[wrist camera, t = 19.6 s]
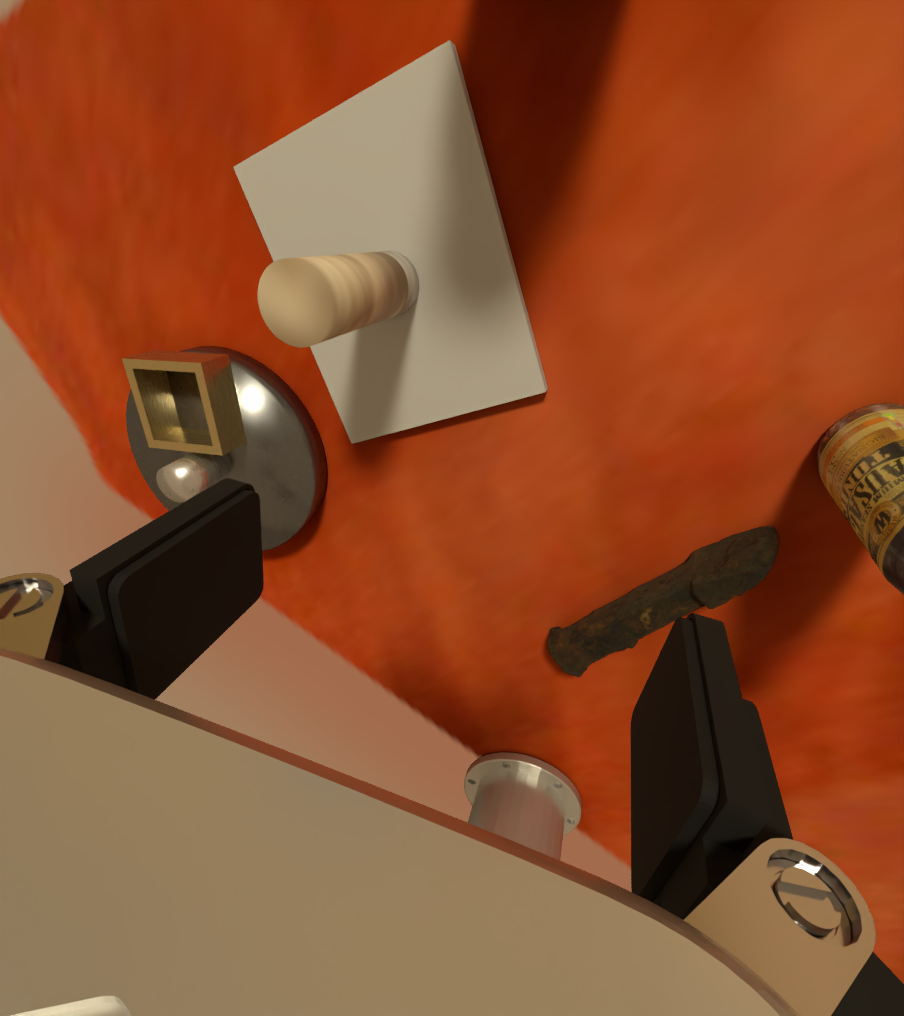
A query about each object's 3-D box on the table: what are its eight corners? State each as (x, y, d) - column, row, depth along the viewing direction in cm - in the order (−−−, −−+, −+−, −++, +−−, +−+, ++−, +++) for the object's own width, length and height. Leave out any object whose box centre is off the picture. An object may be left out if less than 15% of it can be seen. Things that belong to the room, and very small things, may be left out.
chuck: (338, 550, 48) (294, 598, 42) (178, 524, 53) (117, 565, 47) (310, 350, 40) (250, 373, 34) (123, 341, 45) (39, 360, 38)
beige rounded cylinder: (398, 327, 36) (308, 364, 26) (353, 289, 36) (245, 310, 26) (430, 278, 34) (346, 297, 24) (383, 237, 34) (278, 238, 24)
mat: (547, 388, 36) (545, 392, 36) (357, 439, 43) (351, 443, 42) (455, 45, 29) (449, 40, 28) (242, 168, 36) (233, 167, 35)
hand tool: (577, 654, 47) (573, 693, 43) (548, 623, 46) (541, 660, 42) (793, 550, 37) (813, 588, 33) (759, 509, 36) (776, 543, 32)
